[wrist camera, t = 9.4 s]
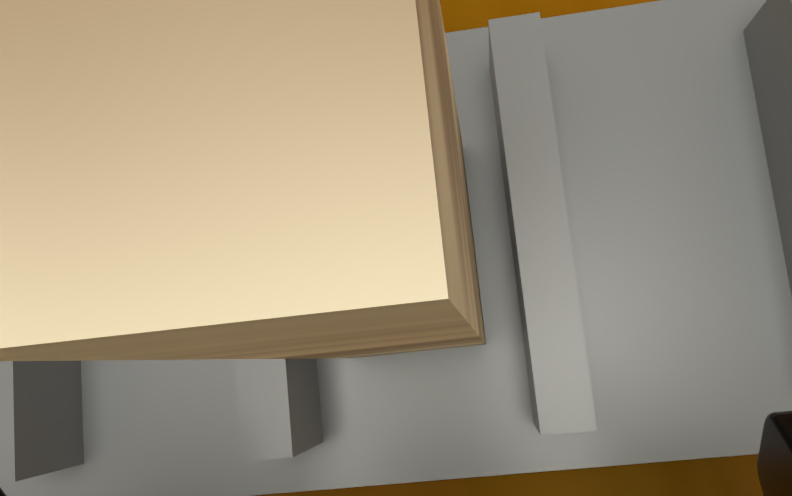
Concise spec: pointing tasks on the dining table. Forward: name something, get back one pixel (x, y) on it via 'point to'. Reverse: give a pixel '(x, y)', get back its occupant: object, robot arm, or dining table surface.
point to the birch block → (231, 181)
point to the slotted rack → (510, 289)
